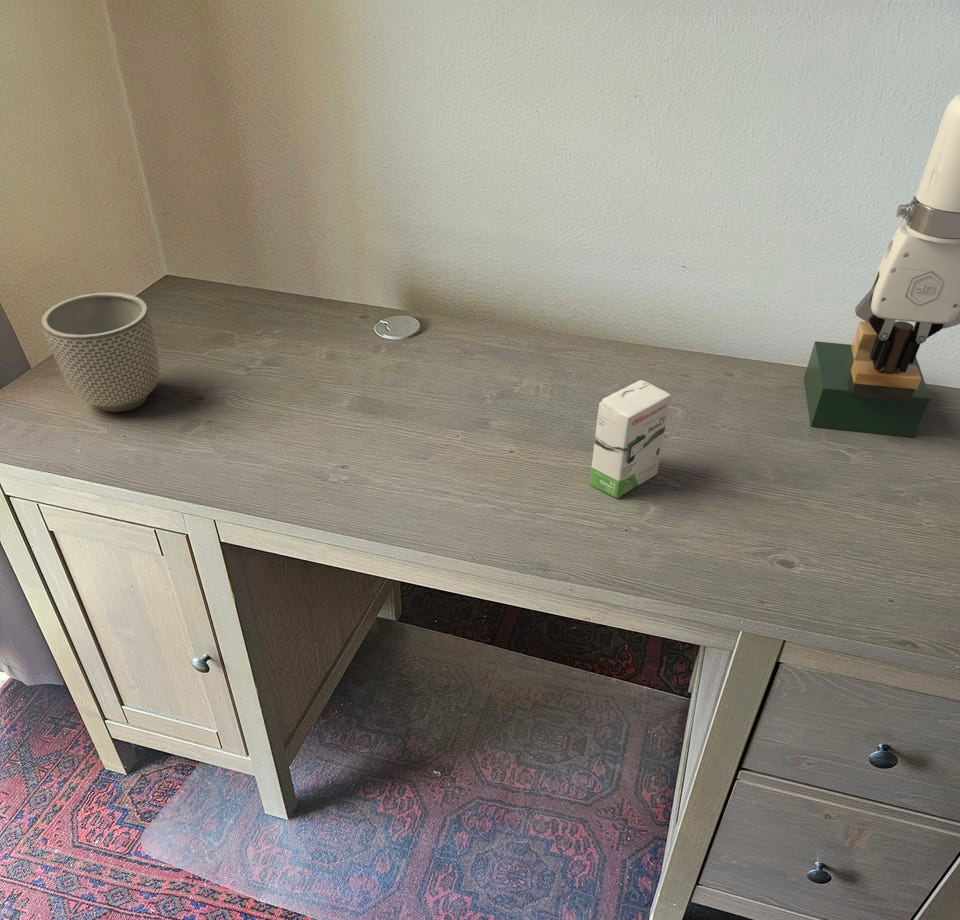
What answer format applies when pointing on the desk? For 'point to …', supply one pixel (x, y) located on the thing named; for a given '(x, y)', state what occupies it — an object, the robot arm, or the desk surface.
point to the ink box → (629, 438)
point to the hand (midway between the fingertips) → (888, 365)
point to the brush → (887, 371)
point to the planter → (105, 348)
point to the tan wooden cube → (863, 342)
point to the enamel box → (856, 413)
